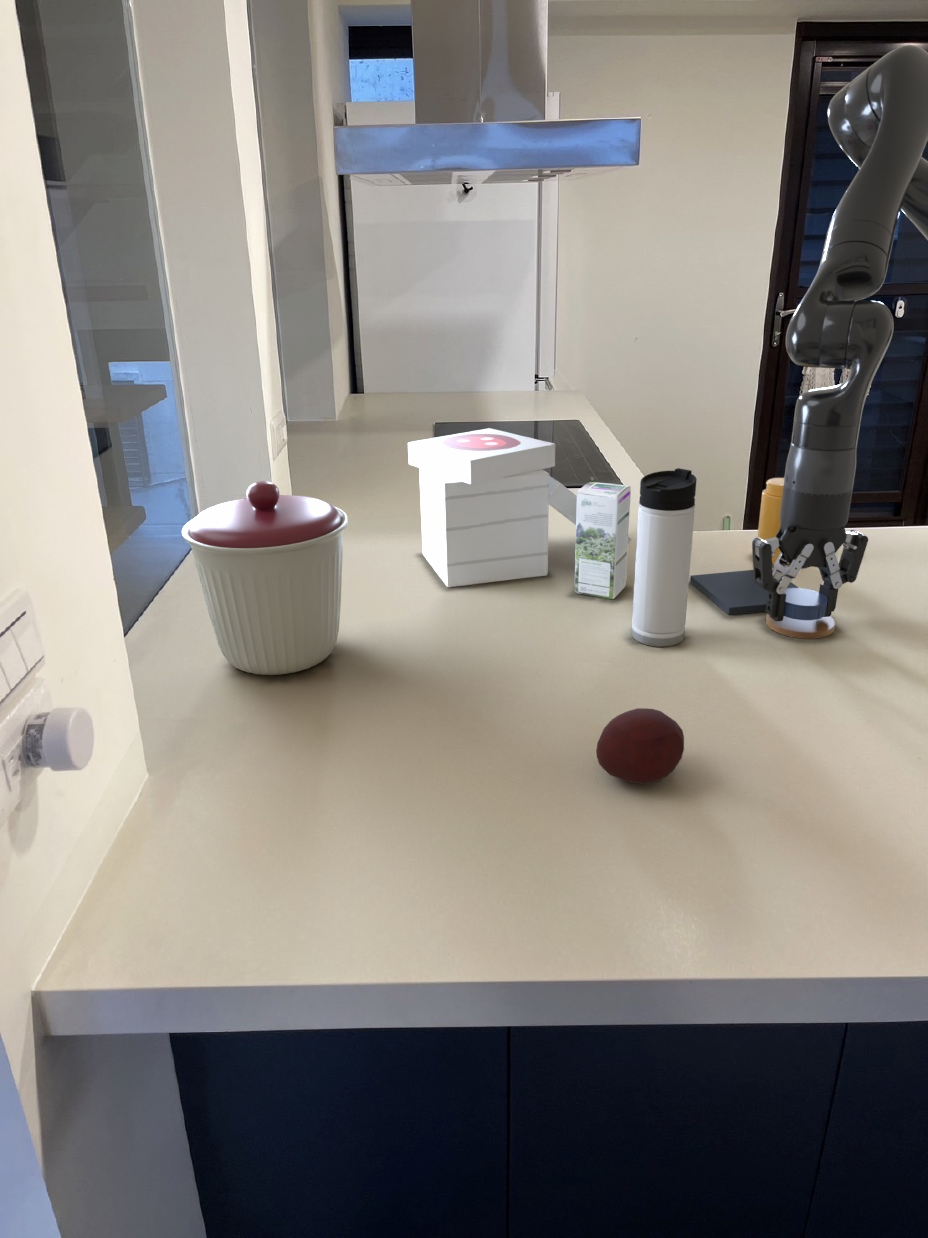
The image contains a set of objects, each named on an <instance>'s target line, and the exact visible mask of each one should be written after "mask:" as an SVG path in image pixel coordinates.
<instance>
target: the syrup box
mask: <svg viewBox="0 0 928 1238" xmlns="http://www.w3.org/2000/svg"><path fill="white" fill-rule="evenodd" d="M631 488H632V486H631V485H625V484H617V483H609V482H608V483H607V482H597V481H589V482H587V483H586V484H584V485H583V486H582V487H581V488H580V489H578V490H577V491H576V496H577V512H576V525H575V551H574V552H575V553H574V555H575V556H574V557H575V560H574V593H575V594H578V595H584V596H589V597H590V596H591V597H596V598H602V599H607V600H608V599H609V600H614V599H615V598H616V597H617V596H619V594H620V593H621V592H622V591H623V590H624V589H625V588H626V586H627V569H628V567H627V566H628V565H627V564H628V547H629V544H628V537H629V529H630V528H629V527H630V515H631V514H630V513H631V512H630V511H631V491H632V489H631Z"/></svg>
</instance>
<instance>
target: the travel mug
mask: <svg viewBox="0 0 928 1238" xmlns="http://www.w3.org/2000/svg"><path fill="white" fill-rule="evenodd" d="M692 471H693V470H691V469H685V468H680V467H677V468H675V469H674V470H661V471H660V470H659V471H655V472H651V473H649V474H646V475H645V476H643V477H642V478H641V479H640V484H639V487H640V488H639V495H640V496H639V501H638V511H637V528H636V529H637V530H636V546H635V563H634V583H633V601H632V619H631V621H632V622H631V623H632V624H631V636H632V638H633V639H635V641H637V642H639V643H641V644H643V645H646V646H650V647H657V648H664V647H672V646H676V645H678V644H680V643H681V642H682V641H684V639H685V634H686V622H687V621H686V620H687V611H688V610H687V609H688V597H689V585H690V571H691V560H692V559H691V558H692V549H693V535H694V525H695V524H694V521H695V508H696V498H695V497H696V493H697V492H696V491H697V477H696V476H695V475H694V474H693V473H692Z"/></svg>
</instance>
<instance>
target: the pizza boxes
mask: <svg viewBox="0 0 928 1238" xmlns="http://www.w3.org/2000/svg"><path fill="white" fill-rule="evenodd" d="M407 454H408V465H409V466H412V467H415V468H418V472H419V474H418V475H419V496H420V519H421V521H420V522H421V523H420V524H421V543H422V555H423V556H424V558H425V559H426V561H427V562H428V563H429V565H430V566H431V567H432V568H433V570H434V571H435V573H436V575H437V576H438V577H439V578H440V580H441V581H442V582H443V584H445V586H446V587H447V588H454V587H462V586H470V585H479V584H486V583H494V582H501V581H510V580H518V579H526V578H534V577H535V578H536V577H542V576H543V577H544V576H548V572H549V571H548V570H549V569H548V568H549V567H548V566H549V564H548V563H549V558H548V557H549V507H551V508H553V509H554V510H555V511H557V512H558V513H560V514H561V515H562V516H563V517H565V519H567V520H568V521H570V522H571V523H573V524H574V525H575V526H576V512H577V494H575V492H573V491H571V490H570V489H569V488H567V487H566V486H565V485H564V484H562V483H561V482H560V481H558V480H557V479H556V478H554V477H552V476H551V475H550V473H549V472H548V471H546V470H544V469H549V468H554V467H556V443H554V442H549V441H546V440H541V439H536V438H532V437H528V436H524V435H521V434H517V433H516V434H515V433H512V432H508V431H504V430H499V429H495V428H491V427H487V428H483V429H477V430H471V431H466V432H459V433H454V434H448V435H442V436H437V437H431V438H425V439H419V440H413V441H409V442H407ZM632 540H633V539H632V538H631V537H630V536H628V545H630V543H631V542H632Z"/></svg>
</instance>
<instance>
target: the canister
mask: <svg viewBox="0 0 928 1238" xmlns="http://www.w3.org/2000/svg"><path fill="white" fill-rule="evenodd" d="M349 521H350V520H349V515H348V514H347V513H346V512H345V511H344V510H342V509H340V508H339V507H336V506H334V505H332V504H331V503H329V502H328V501H325V500H322V499H320V498H319V499H318V498H316V497H311V496H306V495H294V494H293V495H292V494H281V493H280V489H279V487H278V485H276V484H275V483H273V482H272V481H269V480H259V481H256V482H253V483H252V484H250V485H249V486H248V488H247V489H246V497H242V498H237V499H232V500H229V501H225V502H222V503H218V504H215V505H213V506H210V507H208V508H207V509H205V510H202V511H201V512H200V513H199V514H197V516H195V517H194V518H192V519H191V520H189V521H188V522H187V523H186V524H185V525H184V526H183V527H182V529H181V535H182V538H183V540H184V541H185V542H186V543H187V544H189V545H190V548H191V552H192V555H193V560H194V564H195V567H196V571H197V575H198V579H199V581H200V586H201V590H202V593H203V597H204V601H205V605H206V608H207V611H208V612H207V613H208V616H209V619H210V622H211V625H212V628H213V631H214V632H213V633H214V636H215V639H216V641H217V644H218V647H219V650H220V652H221V654H222V656H223V657H224V658H225V660H226V661H227V662H228V663H229V664H230V665H231V666H233V667H234V668H235V669H238V670H240V671H242V672H246V673H248V674H254V675H260V676H261V675H262V676H274V675H275V676H276V675H277V676H280V675H288V674H294V673H297V672H303V671H305V670H307V669H310V668H312V667H314V666H317V665H318V664H321V663H322V662H323V661H325V660H326V659H327V658H328V657H329V656H330V655H331V654H332V652H333V651H334V648H335V647H336V645H337V642H338V637H339V633H340V623H341V622H340V619H341V605H342V584H343V583H342V582H343V554H344V553H343V552H344V531H345V530H346V529H347V527H348V525H349Z"/></svg>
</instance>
